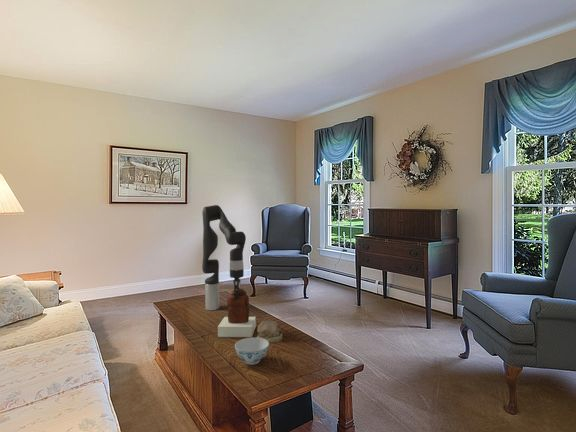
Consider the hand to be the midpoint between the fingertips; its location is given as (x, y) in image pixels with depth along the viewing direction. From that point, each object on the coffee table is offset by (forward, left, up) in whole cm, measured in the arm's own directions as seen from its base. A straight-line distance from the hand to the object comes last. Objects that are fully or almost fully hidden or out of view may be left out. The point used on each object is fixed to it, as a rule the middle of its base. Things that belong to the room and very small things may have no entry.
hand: (237, 297), depth 185 cm
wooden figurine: (0, 0, -14) cm, 14 cm away
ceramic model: (+12, +17, -19) cm, 28 cm away
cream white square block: (0, 0, -19) cm, 19 cm away
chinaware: (+37, +8, -19) cm, 42 cm away
